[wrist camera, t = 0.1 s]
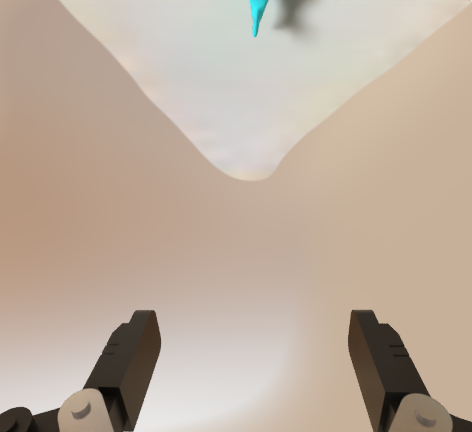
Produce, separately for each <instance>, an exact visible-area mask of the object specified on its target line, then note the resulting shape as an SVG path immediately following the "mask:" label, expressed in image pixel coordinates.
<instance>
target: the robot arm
mask: <svg viewBox="0 0 472 432" xmlns="http://www.w3.org/2000/svg"><path fill="white" fill-rule="evenodd" d="M348 347H349V352H350V357H351V360H352V363H353V366H354V370H355V373H356V376H357V379H358V382H359V386H360V389H361V392H362V396H363V399H364V402H365V405H366V409H367V412H368V415H369V418H370V422H371V425H372V428H373V431H374V432H472V422H470V421H467V420H464V419H461V418H458V417H455V416H453V415H451V414H449V413H448V411H447V410H446V409H445V408H444V406H443V405H441V404H440V403H439V402H438V401H436V400H435V399H433V398H431V396H430V395H429V393H428V391H427V389H426V387H425V385H424V383H423V381H422V379H421V377H420V375H419V373H418V371H417V369H416V368H415V365H414V363H413V362H412V359H411V358H410V357H409V354H408V352H407V350H406V348H405V347H404V344H403V342H402V340H401V338H400V336H399V334H398V333H397V332H396V331H395V330H394V329H393V328H392V327H391V326H390V325H389V324H379V323H378V320H377V319H376V316H375V314H374V312H373V311H372V310H352V312H351V318H350V326H349V335H348ZM160 349H161V336H160V331H159V326H158V323H157V317H156V313H155V311H154V310H146V311H145V310H140V311H139V310H137V311H135V312H134V314H133V316H132V318H131V320H130V322H129V323H122V324H121V325H120V326H119V327H118V328H117V329H116V330H115V331H114V332H113V333H112V335H111V337H110V338H109V340H108V342H107V346H105V348H104V350H103V352H102V355H101V356H100V357H99V359H98V361H97V363H96V365H95V367H94V369H93V371H92V372H91V375H90V376H89V378H88V380H87V382H86V384H85V386H84V387H83V389H82V390H80V391H78V392H76V393H74V394H73V395H71V396H70V397H69V398H68V399H67V400H66V401H65V402H64V403H63V405H62V406H61V407H60V408H57V409H55V410H51V411H48V412H44V413H40V414H37V415H32V414H31V412H30V410H29V409H27V408H25V407H16V408H12V409H9V410H7V411H5V412H3V413H2V414H0V432H123V431H126V432H127V431H128V432H133V431H134V428H135V425H136V422H137V419H138V416H139V413H140V410H141V407H142V404H143V401H144V398H145V395H146V392H147V389H148V386H149V383H150V380H151V377H152V374H153V371H154V368H155V365H156V362H157V359H158V356H159V353H160Z"/></svg>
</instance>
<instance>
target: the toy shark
mask: <svg viewBox="0 0 472 432" xmlns="http://www.w3.org/2000/svg"><path fill="white" fill-rule="evenodd" d="M267 2H268V0H250V4H251V11H252V18H253V36H254V37H256V36H257V33H258V28H259V22H260V20H261V18H262V15H263V12H264V10H265V7H266V5H267Z"/></svg>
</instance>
